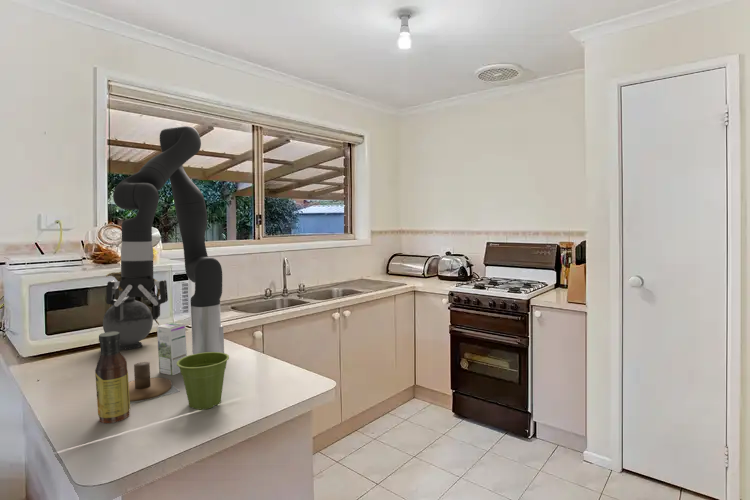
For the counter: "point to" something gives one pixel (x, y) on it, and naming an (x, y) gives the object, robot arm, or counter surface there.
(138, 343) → the pitcher
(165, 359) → the syrup box
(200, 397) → the plant pot
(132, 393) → the walnut lid
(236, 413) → the counter surface
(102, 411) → the sauce bottle
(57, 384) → the counter surface
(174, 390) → the rubber mat
